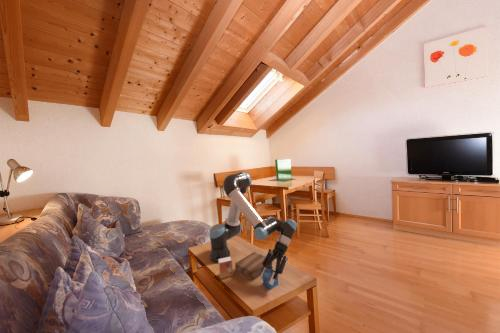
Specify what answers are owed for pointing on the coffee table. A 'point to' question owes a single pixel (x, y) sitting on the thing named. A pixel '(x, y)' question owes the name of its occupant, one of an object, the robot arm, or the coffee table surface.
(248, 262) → the walnut riser block
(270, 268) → the perfume bottle
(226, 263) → the small box
